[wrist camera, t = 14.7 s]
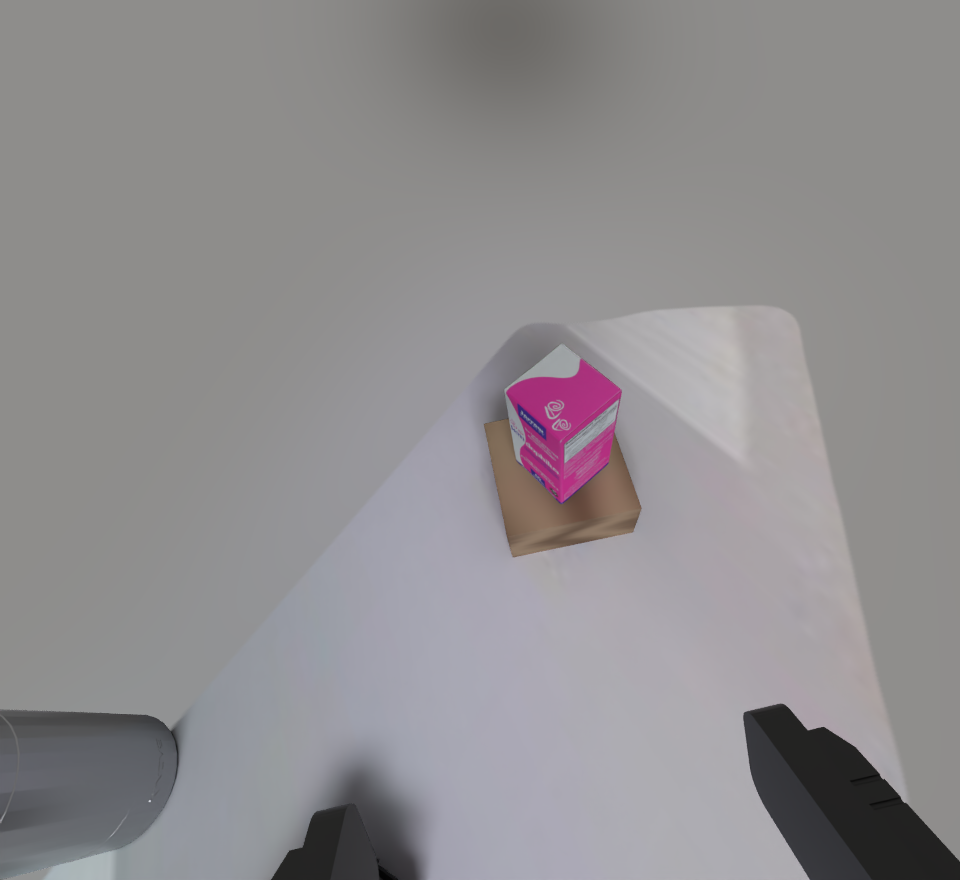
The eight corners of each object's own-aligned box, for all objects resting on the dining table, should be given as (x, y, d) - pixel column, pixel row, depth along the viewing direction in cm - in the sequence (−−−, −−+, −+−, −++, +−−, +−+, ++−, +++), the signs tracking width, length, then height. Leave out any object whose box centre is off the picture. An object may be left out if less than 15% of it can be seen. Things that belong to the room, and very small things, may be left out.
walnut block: (513, 558, 46) (507, 536, 41) (491, 454, 52) (483, 423, 47) (632, 533, 46) (641, 508, 41) (597, 431, 51) (601, 398, 46)
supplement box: (513, 462, 44) (500, 386, 34) (562, 422, 46) (564, 337, 36) (559, 508, 42) (560, 441, 32) (611, 464, 43) (627, 386, 33)
